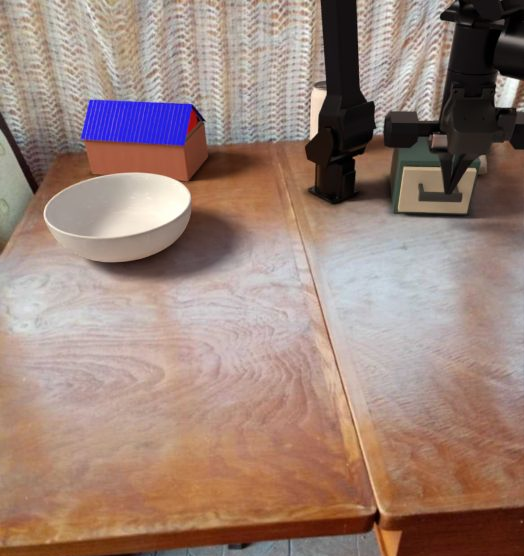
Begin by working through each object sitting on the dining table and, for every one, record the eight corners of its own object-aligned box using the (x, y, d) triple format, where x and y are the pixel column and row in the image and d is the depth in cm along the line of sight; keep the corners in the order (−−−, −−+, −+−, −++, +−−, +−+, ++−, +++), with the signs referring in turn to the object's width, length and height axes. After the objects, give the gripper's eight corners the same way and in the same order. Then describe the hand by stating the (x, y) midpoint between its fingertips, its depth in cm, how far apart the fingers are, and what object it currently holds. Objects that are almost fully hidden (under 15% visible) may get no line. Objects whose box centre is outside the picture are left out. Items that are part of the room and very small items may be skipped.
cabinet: (468, 215, 85) (481, 161, 79) (393, 213, 86) (400, 160, 80) (456, 178, 95) (467, 129, 89) (389, 177, 96) (395, 128, 90)
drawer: (471, 227, 80) (482, 184, 75) (399, 225, 81) (406, 182, 77) (456, 179, 92) (464, 139, 88) (394, 178, 94) (399, 138, 89)
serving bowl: (173, 287, 73) (165, 242, 68) (31, 276, 76) (15, 232, 71) (211, 214, 88) (207, 173, 83) (91, 208, 91) (81, 168, 87)
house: (189, 182, 98) (180, 115, 90) (89, 174, 102) (73, 110, 94) (210, 156, 106) (203, 93, 98) (117, 150, 110) (104, 89, 103)
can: (340, 156, 104) (345, 90, 96) (307, 155, 105) (309, 89, 97) (343, 144, 108) (348, 80, 100) (312, 143, 110) (313, 79, 102)
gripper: (394, 89, 58) (379, 220, 68) (578, 89, 56) (533, 224, 66) (390, 62, 66) (377, 182, 77) (550, 61, 64) (514, 185, 74)
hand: (447, 193), depth 73 cm, fingers closed
